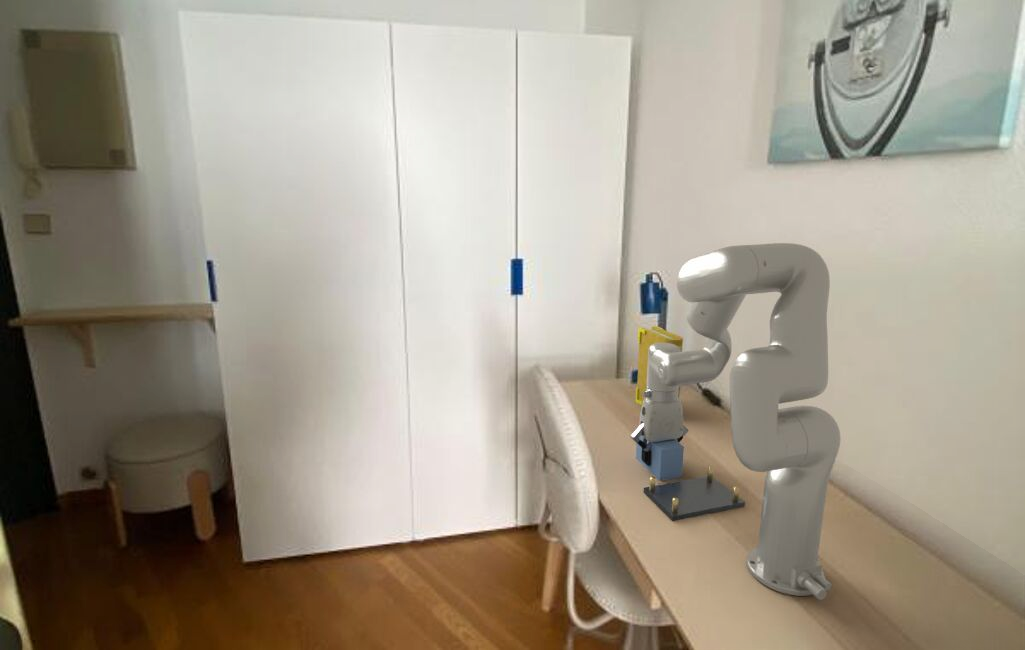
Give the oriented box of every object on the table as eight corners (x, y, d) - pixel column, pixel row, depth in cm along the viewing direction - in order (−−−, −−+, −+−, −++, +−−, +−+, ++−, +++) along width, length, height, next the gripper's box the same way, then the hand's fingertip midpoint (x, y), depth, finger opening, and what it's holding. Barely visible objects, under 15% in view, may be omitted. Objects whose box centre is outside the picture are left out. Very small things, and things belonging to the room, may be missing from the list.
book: (635, 401, 181) (638, 328, 175) (653, 398, 183) (656, 326, 177) (663, 420, 166) (668, 340, 160) (682, 417, 167) (688, 338, 162)
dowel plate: (744, 506, 120) (746, 489, 119) (672, 521, 115) (673, 503, 114) (710, 480, 131) (712, 464, 130) (643, 492, 126) (644, 475, 125)
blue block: (681, 476, 133) (683, 446, 131) (659, 480, 131) (661, 449, 129) (656, 454, 144) (658, 426, 142) (635, 458, 143) (637, 429, 141)
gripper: (637, 403, 127) (634, 473, 132) (702, 395, 132) (697, 463, 136) (622, 392, 134) (620, 459, 139) (684, 385, 139) (680, 450, 143)
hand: (658, 460), depth 137 cm, fingers closed on blue block, 6 cm apart
